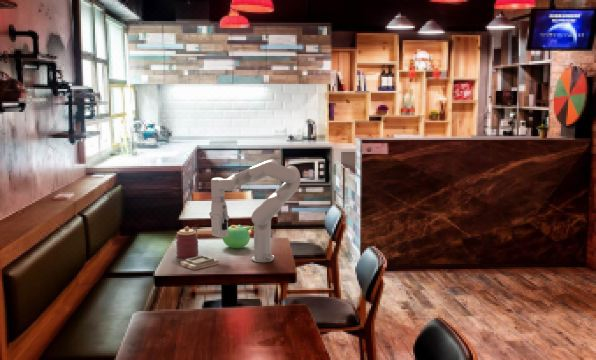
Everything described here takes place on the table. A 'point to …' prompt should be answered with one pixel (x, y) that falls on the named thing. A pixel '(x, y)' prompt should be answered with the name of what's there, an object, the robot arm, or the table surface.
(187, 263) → the maple base
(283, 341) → the table surface
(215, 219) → the small box
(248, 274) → the table surface
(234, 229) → the green rounded piece
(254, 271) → the table surface
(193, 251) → the canister
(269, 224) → the robot arm
